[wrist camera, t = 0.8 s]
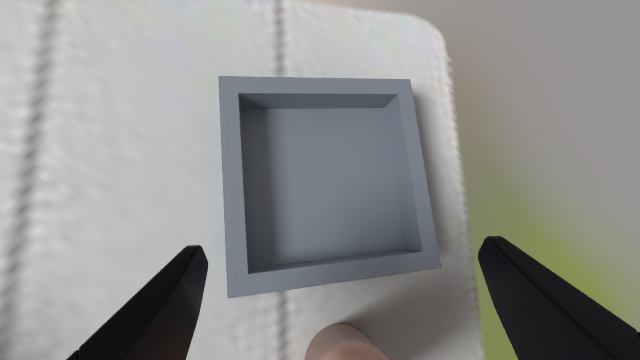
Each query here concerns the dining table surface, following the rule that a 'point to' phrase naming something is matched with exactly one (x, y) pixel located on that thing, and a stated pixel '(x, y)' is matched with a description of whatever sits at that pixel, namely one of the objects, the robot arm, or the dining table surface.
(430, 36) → the dining table surface
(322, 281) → the tray
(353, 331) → the cylinder
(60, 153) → the dining table surface
